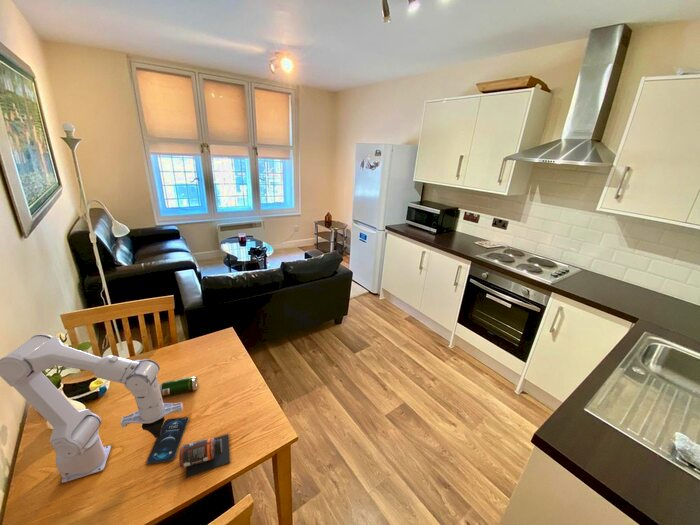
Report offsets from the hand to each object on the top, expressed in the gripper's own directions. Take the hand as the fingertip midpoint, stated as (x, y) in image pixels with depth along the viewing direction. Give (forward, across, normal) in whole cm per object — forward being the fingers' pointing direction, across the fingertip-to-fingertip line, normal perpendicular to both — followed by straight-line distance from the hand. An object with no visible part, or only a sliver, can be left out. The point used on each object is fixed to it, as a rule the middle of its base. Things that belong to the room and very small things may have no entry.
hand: (158, 434), depth 85 cm
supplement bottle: (+7, -5, +4) cm, 10 cm away
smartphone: (+10, -1, -6) cm, 12 cm away
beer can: (+8, +4, -27) cm, 28 cm away
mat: (+10, -12, +4) cm, 17 cm away
